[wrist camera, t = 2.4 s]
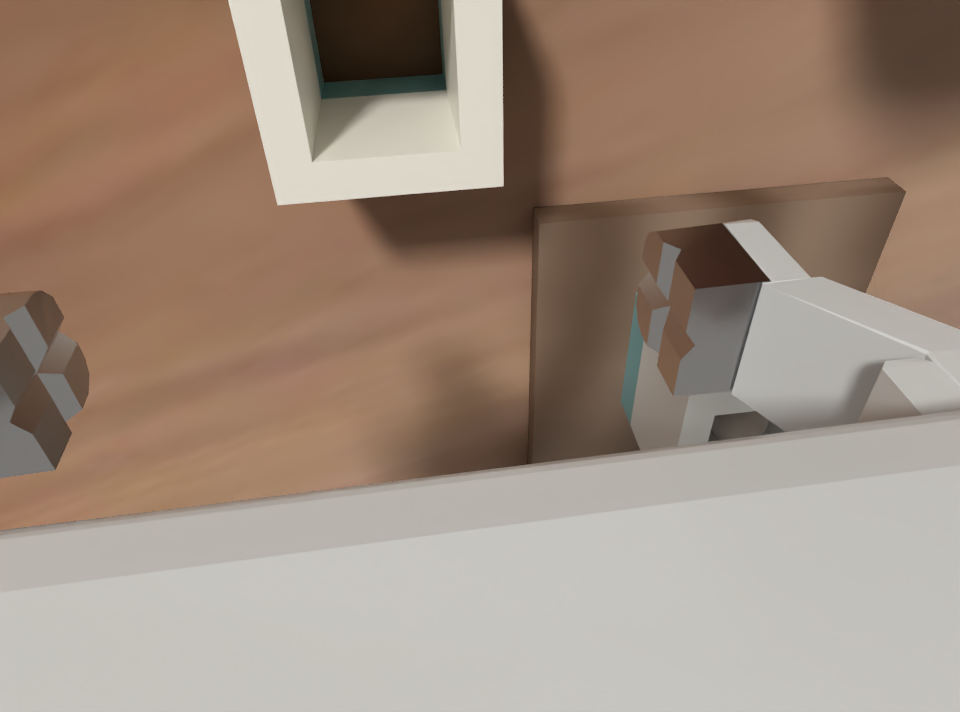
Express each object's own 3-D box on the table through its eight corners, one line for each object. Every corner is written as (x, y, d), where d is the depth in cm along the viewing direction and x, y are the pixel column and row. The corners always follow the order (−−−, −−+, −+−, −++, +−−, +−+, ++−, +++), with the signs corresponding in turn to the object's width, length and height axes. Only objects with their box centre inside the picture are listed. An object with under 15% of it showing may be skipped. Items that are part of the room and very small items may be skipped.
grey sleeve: (780, 278, 28) (861, 376, 23) (747, 387, 32) (811, 489, 27) (636, 292, 28) (689, 395, 23) (620, 401, 31) (663, 507, 27)
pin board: (888, 177, 27) (1008, 271, 22) (743, 559, 44) (792, 663, 39) (533, 208, 26) (573, 314, 21) (524, 587, 43) (545, 697, 38)
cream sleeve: (470, -110, 19) (501, -74, 15) (477, 105, 23) (503, 186, 19) (251, -99, 19) (214, -57, 14) (295, 118, 23) (277, 205, 18)
